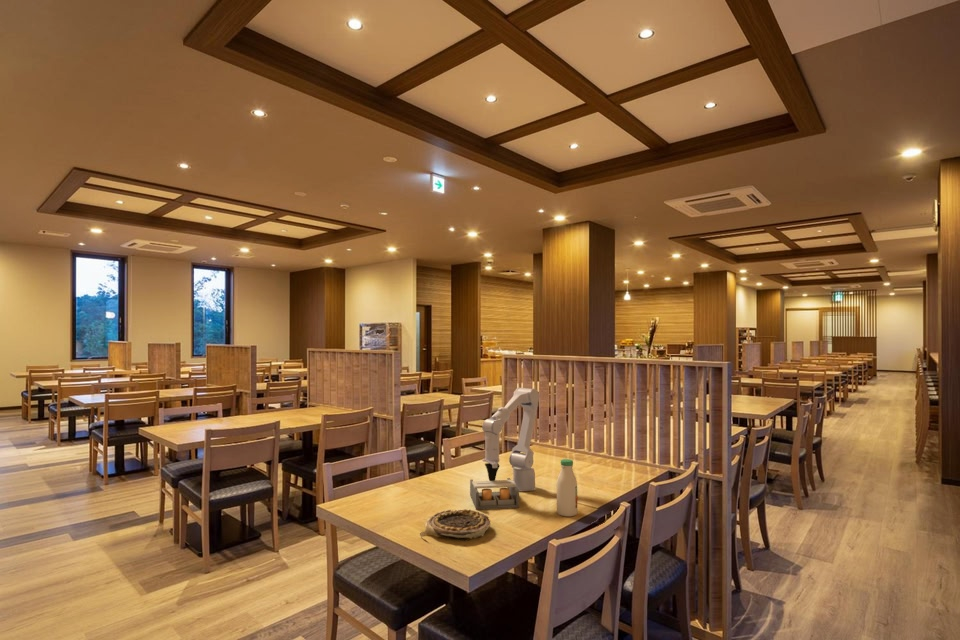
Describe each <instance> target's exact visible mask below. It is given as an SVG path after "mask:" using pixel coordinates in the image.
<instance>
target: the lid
mask: <svg viewBox="0 0 960 640" xmlns="http://www.w3.org/2000/svg"><path fill="white" fill-rule="evenodd" d="M472 484H473V486H474V488H475V489H477V490H478V489H494V488H495V489H496V488H499V489H500V488H507V487H516V484H515V483H514V481H513V479H511V480H507V479H502V480H501V479H500V480H496V479H495V481H489V480H477V481H476V480H473V481H472Z"/></svg>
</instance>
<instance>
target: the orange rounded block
mask: <svg viewBox="0 0 960 640" xmlns="http://www.w3.org/2000/svg"><path fill="white" fill-rule="evenodd" d="M499 492H500V500H506V499H510V489H509V488H507V487H500V488H499Z"/></svg>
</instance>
